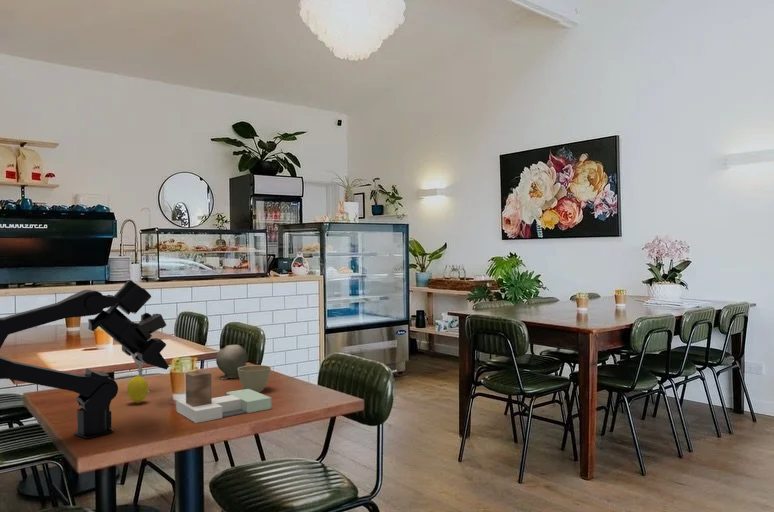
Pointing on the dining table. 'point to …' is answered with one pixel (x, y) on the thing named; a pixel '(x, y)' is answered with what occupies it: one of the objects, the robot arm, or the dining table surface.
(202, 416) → the board
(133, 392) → the lemon
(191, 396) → the walnut block
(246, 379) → the flower pot
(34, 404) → the dining table surface
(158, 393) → the dining table surface
